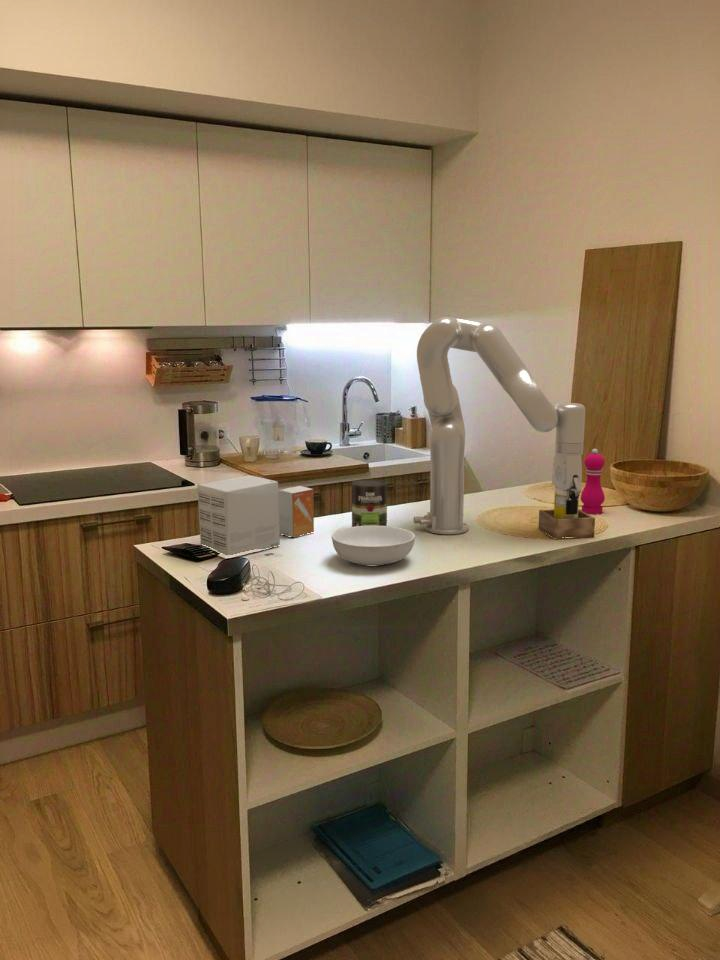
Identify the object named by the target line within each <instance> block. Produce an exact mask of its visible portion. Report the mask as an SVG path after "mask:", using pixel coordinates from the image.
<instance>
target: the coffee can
mask: <svg viewBox="0 0 720 960" xmlns="http://www.w3.org/2000/svg"><path fill="white" fill-rule="evenodd" d="M350 484H351V485H350V486H351V527H355V526H370V525H375V526H388V523H387V522H388V519H387V518H388V482H387V481H385V480H382V479H375V478H368V479H367V478H365V479H364V478H363V479H362V478H361V479H356V480H352V481H351V482H350Z"/></svg>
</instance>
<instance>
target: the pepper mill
mask: <svg viewBox="0 0 720 960" xmlns="http://www.w3.org/2000/svg"><path fill="white" fill-rule="evenodd" d="M598 451H599V450H598V449H597V448H593V449H592V450H591V453H590V454H587V455H586V457H585V458H584V466H585V467H586V468H585V472H584V473H585V474H586V482H585V485H584V488H583V489H582V490H581V492H580V502H581V503H582V505H581V511H583V512H585V513H587V514H589V515H599V514H602V513H603V506H602V504H603V503H604V502H605V498H606V497H605V496H606V495H605V493H604V490H603V488H602V487H603V486H602V485H601V475H603V469H602V468H604V466H605V464H606V463H605V458H604V456H603V455H601V454H600V453H599V452H598Z"/></svg>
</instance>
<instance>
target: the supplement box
mask: <svg viewBox="0 0 720 960" xmlns="http://www.w3.org/2000/svg"><path fill="white" fill-rule="evenodd" d="M196 486H197V502H198V520H199V534H200V535H199V536H200V538H199V539H200V540H199V541H200V545H201V544H203V545H206V546H208V547H211V548H213V549H215V550H217V551H218V552H220V553H223V554H225V555H233V554H237V553H240V552H245V551H249V550H254V549H266V548H270V547H274V546H278V545H280V546H281V538H280V537H281V535H280V532H279V500H278V490H279V481H277V480H272V479H270V478H269V479H268V478H265V477H260V476H256V475H249V474H248V475H244V476H239V477H234V478H233V477H232V478H228V479H222V480H218V481H212V482H207V483H201V484H197V485H196Z"/></svg>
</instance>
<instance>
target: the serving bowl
mask: <svg viewBox="0 0 720 960" xmlns="http://www.w3.org/2000/svg"><path fill="white" fill-rule="evenodd" d="M415 540H416V535H415V533H414V532H412V531H410V530H409V529H405V528H401V527H397V526H389V525H387V526H375V525H370V526H355V527H352V526H350V527H345V528H341V529H339V530H336V531H333V533H332V534H331V542H332V545H333V548H334V550H335V552H336V553H337V554H338V556H339V557H341V558H342V559H343V560H345V561H347V562H350V563H353V564H356V565H361V564H362V565H361V566H365V565H381V566H385V565H384V564H386V565H389V564H392V563H396V562H398V561H401V560H403V559H405V558H406V557H407V556H408V555H409V554H410V553H411V551H412V549H413V547H414V545H415Z"/></svg>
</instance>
